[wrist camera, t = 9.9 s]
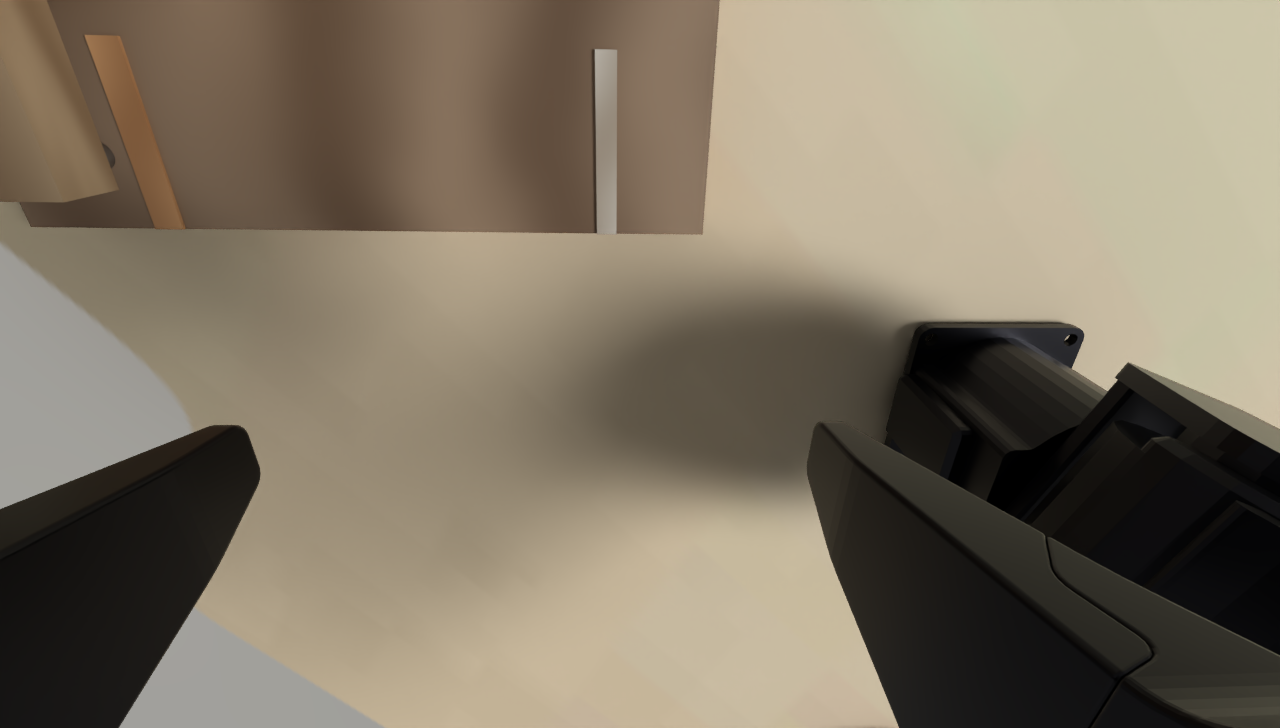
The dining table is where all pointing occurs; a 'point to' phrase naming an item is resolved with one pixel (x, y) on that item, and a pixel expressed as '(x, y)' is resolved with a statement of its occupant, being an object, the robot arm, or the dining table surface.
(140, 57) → the walnut board
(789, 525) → the dining table surface
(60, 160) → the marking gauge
